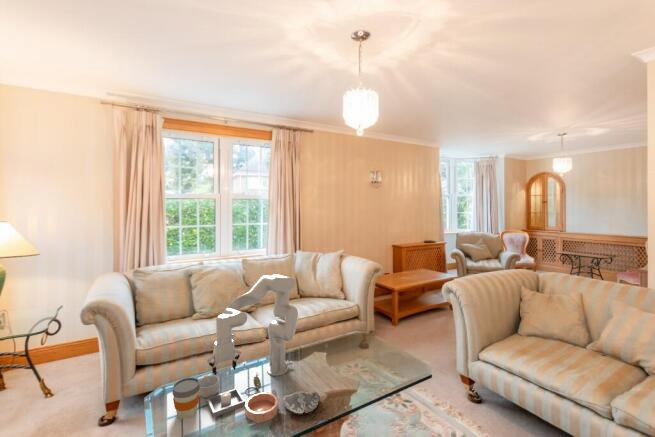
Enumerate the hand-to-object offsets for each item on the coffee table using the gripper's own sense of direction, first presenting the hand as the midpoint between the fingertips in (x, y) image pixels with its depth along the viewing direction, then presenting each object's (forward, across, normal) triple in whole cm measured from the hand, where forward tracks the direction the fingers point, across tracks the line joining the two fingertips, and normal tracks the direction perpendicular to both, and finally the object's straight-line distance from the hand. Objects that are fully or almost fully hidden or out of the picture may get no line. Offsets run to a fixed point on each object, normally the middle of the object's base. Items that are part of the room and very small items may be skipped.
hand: (224, 371), depth 164 cm
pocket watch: (+19, -16, -3) cm, 25 cm away
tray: (+18, 0, 0) cm, 19 cm away
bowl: (+18, -15, +14) cm, 27 cm away
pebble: (+18, 0, 0) cm, 18 cm away
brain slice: (+19, -34, +22) cm, 44 cm away
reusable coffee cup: (+19, +18, -4) cm, 26 cm away
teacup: (+19, +5, -15) cm, 24 cm away
